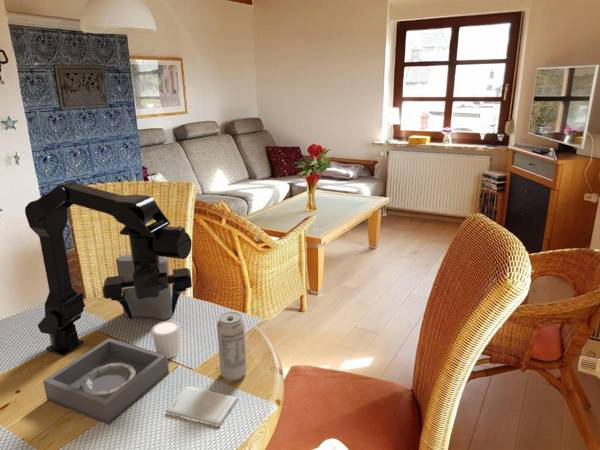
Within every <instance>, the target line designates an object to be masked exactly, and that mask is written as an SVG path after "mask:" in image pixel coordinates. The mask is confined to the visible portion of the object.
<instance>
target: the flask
mask: <svg viewBox="0 0 600 450" xmlns="http://www.w3.org/2000/svg"><path fill="white" fill-rule="evenodd" d="M159 261H160V270H161V273H164V272H167V275H170V270H169V269H170V268H169V261H168V258H167V257H161V256H159ZM115 264H116V269H117V276H122V275H123V277H124V281H125V280H133V272H134V270H133V263H132V255H131V254H123V255H120V256H118V257H117V258H116V259H115ZM127 292H128V296H129V300H130V305H131V309H132V316H133V318H149V317H150V319H155V320H159V319H160V321H166V320H169V319H171V318H172V317H173V316H174V314H172V286H171V284H168V288H165V289H164V290H161V291H160V295H159V296H158V297H154V298H153V297H149V298H144V299H138V298H137V297H136V293H135V288H131V289H127ZM122 311H123V315H124V316H125V317H127V318H129V316H128V314H127V313H126V311H125V309H124V308H123V307H122ZM171 316H172V317H171ZM170 317H171V318H170ZM168 318H169V319H168ZM165 319H166V320H165Z"/></svg>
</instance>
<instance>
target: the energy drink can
mask: <svg viewBox="0 0 600 450" xmlns="http://www.w3.org/2000/svg"><path fill="white" fill-rule="evenodd" d="M216 324H217V325H216V329H217V330H216V331H217V340H218V341H217V343H218V345H217V346H218V356H219V370H220V375H221V376H222V377H223V378H224V379H225V380H226V381H228V382H229V381H230V382H235V381H239V380H242V379H243V378H244V377H245V374H246V373H247V372H248V371H247V369H248V368H247V366H248V365H247V353H246V352H247V351H246V333H245V321H244V320H243V319H242V315H241V314H240V313H239V312H236V311H227V312H224V313H222V314H221V315H219V318H218V321H217V323H216Z"/></svg>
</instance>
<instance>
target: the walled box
mask: <svg viewBox="0 0 600 450" xmlns="http://www.w3.org/2000/svg"><path fill="white" fill-rule="evenodd" d="M168 361H169V360H168V358H167V355H164V354H161V353H157V352H156V351H154V350H150V349H147V348H144V347H140V346H136V345H134V344H130V343H127V342H123V341H120V340H116V339H114V338H110V337H108V338H107V339H105V340H104V341H102V342H101V343H99V344H97V345H96V346H94V347H93V348H91V349H89V350H88V351H86V352H85V353H84V354H82V355H80V356H79V357H77V358H76V359H74V360H72V361H71V362H70V363H68V364H66V365H64V366H63V367H62V368H60V369H59V370H57V371H56V372H54V373H53V374H50V375H49V376H48V377H46V378H45V379H43V380H42V382H43V386H44V387H43V388H44V392H45V396H46V400H47V401H49V402H51V403H53V404H56V405H58V406H61V407H63V408H66V409H68V410H70V411H73V412H76V413H78V414H80V415H84V416H86V417H88V418H91V419H93V420H95V421H98V422H100V423H103V424H106V425H108V426H110V425H111V424H112V423H113V422H114V421H116V420H117V419H118V418H120V416H122V415H123V414H124V413H125V412H126V411H127V410H128V409H130V408H131V407H132V406H134V405H135V403H137V402H138V401H140V399H141V398H143V397H144V396H145V395H146V394H148V392H149V390H150V391H151V390H152V389H153V388H154V387H155V386H156V384H157V383H158V382H159V383H160V382H161V381H163V378H164V377H165V378H166V377H167V376H169V374H170V372H169V371H170V370H169V363H168ZM110 363H125V364H129V365H132V366H133V368H134V369H135V371H136V376H134V377H133V378H132V379H131V380H129V377H130V374H129V373H127V372H124V371H110V372H108V373H105V374H102V375H99V376H98V377H97V378H95V379H94V380H92V381H91V383H90V385H89V386H88V388H89V389H92V390H94V391H109V390H112V389H114V388H117V387H120V386H121V385H123V384H124V383H125V382H126V381H128V380H129V381H128V382H127V383H126V384H124V385H123V386H122V387H120V388H119V389H118V390H117V391H115V392H114V393H113V394H112V395H110V396H109V397H108V398H107V399H104V398H102V397H99V396H96V395H94V394H91V393H88V392H86V391H83V390H82V385H81V383H82V382H83V380H84V378H85V376H86V375H87V374H89V373H90V372H91V371H93V370H94V369H96V368H98V367H101V366H104V365H107V364H110ZM165 378H164V379H165ZM159 383H158V384H159ZM158 384H157V385H158ZM151 388H152V389H151Z"/></svg>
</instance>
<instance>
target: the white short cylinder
mask: <svg viewBox="0 0 600 450" xmlns="http://www.w3.org/2000/svg"><path fill="white" fill-rule="evenodd" d="M151 335H152V339H153V342H154V348H155V352H157V353H161V354H164V355H167V357H171V356H173V355H175V354H177V353H178V352H179V351H180V352H181V325H180V323H179V322H178V321H173V320H167V321H166V320H163V321H162V322H161V321H160V322H157V324H155V325H153V327H151ZM180 352H179V353H180Z"/></svg>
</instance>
